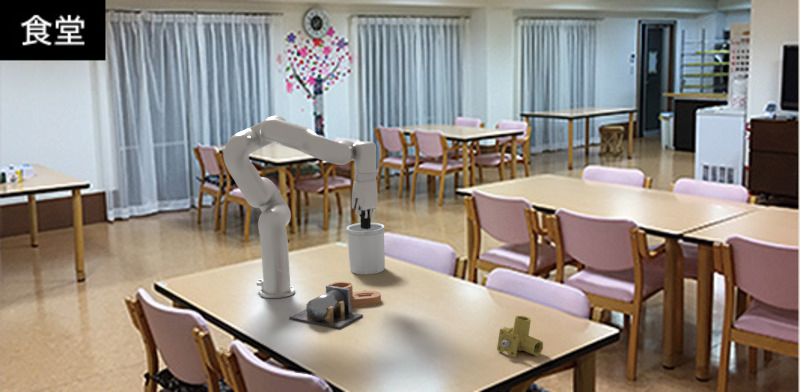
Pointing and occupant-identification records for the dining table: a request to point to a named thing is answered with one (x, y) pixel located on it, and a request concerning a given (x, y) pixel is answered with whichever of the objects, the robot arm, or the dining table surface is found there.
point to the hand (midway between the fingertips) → (365, 228)
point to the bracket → (360, 295)
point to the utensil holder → (366, 248)
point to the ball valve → (519, 338)
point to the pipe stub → (329, 309)
